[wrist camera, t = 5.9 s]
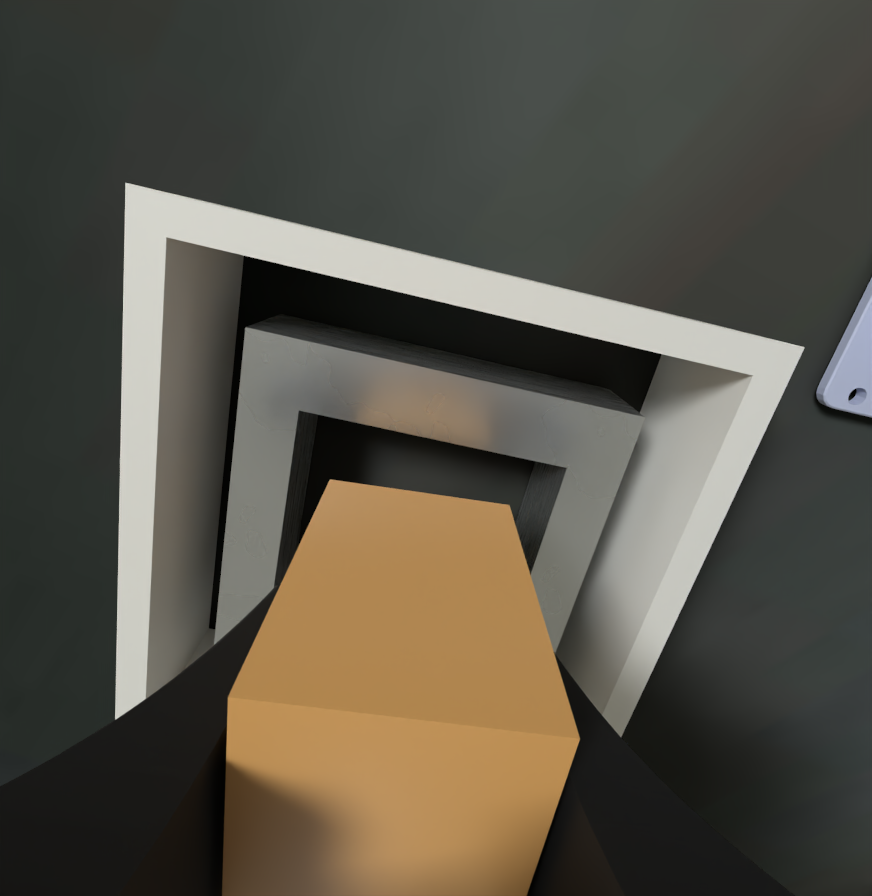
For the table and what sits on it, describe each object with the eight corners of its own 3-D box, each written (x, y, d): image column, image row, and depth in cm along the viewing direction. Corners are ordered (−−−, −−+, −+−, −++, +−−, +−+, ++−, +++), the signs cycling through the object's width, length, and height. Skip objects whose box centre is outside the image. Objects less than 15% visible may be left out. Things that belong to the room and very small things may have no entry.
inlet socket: (608, 388, 16) (645, 417, 13) (518, 646, 19) (532, 713, 16) (280, 313, 15) (245, 327, 12) (246, 596, 18) (212, 657, 16)
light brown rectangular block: (509, 505, 12) (580, 738, 6) (468, 679, 13) (494, 989, 8) (330, 479, 11) (228, 697, 6) (311, 660, 13) (219, 965, 7)
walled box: (702, 321, 15) (804, 347, 11) (550, 706, 20) (579, 825, 16) (218, 204, 14) (125, 182, 10) (185, 641, 19) (114, 750, 15)
